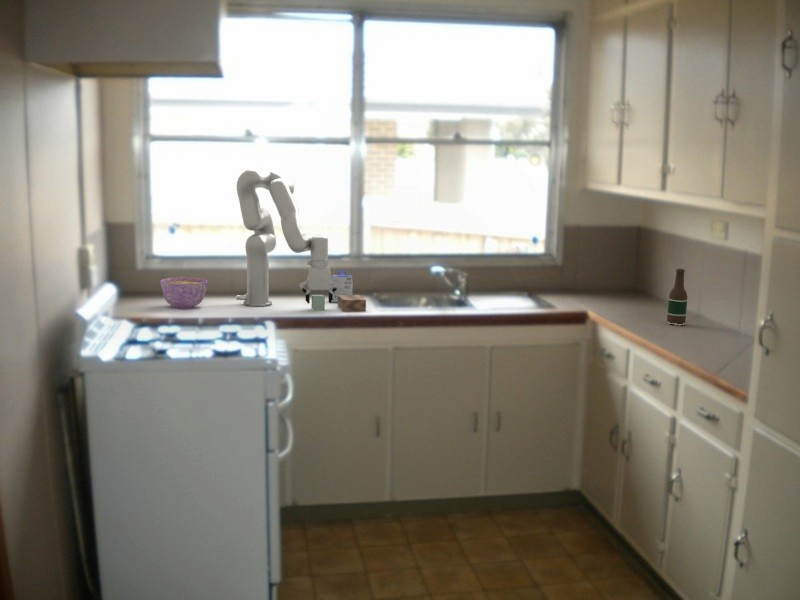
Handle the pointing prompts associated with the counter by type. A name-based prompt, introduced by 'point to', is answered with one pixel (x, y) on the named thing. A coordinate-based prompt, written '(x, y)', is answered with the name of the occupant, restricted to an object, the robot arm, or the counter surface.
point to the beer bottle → (677, 300)
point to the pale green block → (318, 302)
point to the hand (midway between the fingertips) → (319, 302)
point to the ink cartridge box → (342, 284)
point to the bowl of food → (183, 291)
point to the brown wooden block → (351, 303)
